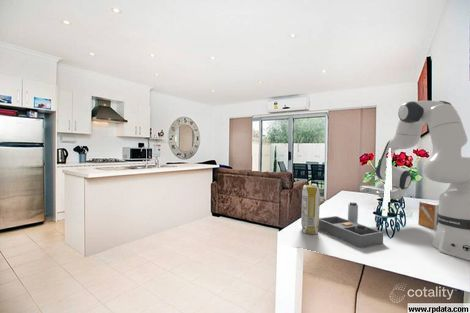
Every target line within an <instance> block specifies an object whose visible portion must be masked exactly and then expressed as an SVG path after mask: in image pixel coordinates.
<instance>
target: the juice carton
mask: <svg viewBox="0 0 470 313" xmlns="http://www.w3.org/2000/svg"><path fill="white" fill-rule="evenodd" d="M320 197H321V193H320V188H319V187H318V184H316V183H311V185H309V184H304V185H303V186H302V191H301V216H300V217H301V218H300V220H301V221H300V222H301V228H302V232H303V234H308V235H318V234H319V230H320V229H319V218H320V204H321V202H320V201H321V198H320Z"/></svg>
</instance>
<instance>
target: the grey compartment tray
mask: <svg viewBox="0 0 470 313" xmlns="http://www.w3.org/2000/svg"><path fill="white" fill-rule="evenodd" d="M357 225H363V224H361V223H359V222H357V223H355V222H352V221H349V220H348V219H346V218H343V217H340V216H337V215H335V216H327V217H319V229H318V230H320V231H322V232H325V233H326V234H328V235H331V236H333V237H335V238H337V239H340V240H342V241H343V242H346V243H348V244H351V245H353V246H355V247H358V248H360V249H362V248H367V247H372V246H376V245H377V244H378V245H382V244H384V231H382V230H378V229H375V228H373V227H369V226H366V225H363V226H365V227H366V228H367V234H364V235H359V234H357V233H355V227H356V226H357Z"/></svg>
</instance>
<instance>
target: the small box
mask: <svg viewBox="0 0 470 313" xmlns="http://www.w3.org/2000/svg"><path fill="white" fill-rule="evenodd" d="M418 205H419V206H418V225H421V226H424V227H426V228H430V229H433V230H437V213H439V203H436V202H430V201H427V200H426V201H425V200H424V201H419V204H418Z"/></svg>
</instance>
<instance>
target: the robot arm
mask: <svg viewBox="0 0 470 313" xmlns="http://www.w3.org/2000/svg"><path fill="white" fill-rule="evenodd" d="M397 115H398V118H399V121H398V123H397V124H398V125H397V127H396V132H395V133H394V134H395V135H394V136H393V138H391V139H389V140H388V141H387V143H386V145H385V148H384V150H383V152H382V155H381V158H380V160H379V162H378V164H377V166H376V168H375V175H376V177H377V178H378V179H380V180H383V181H386V180H385V171H386V154H387V153H388V150H389V148H391V151H392V158H393V156H394V154H395V152H396V151H399V150H407V149H412V148H413V147H415V146H417V145H418V144H419V142H420V140H421V137H422V136H421V135H422V131H423V128H424V127H423V126H424V125H425V124H427V127H428V128H427V129H428V132H429V135H430V139H431V143H432V153H431V157H430V158H429V159H428V160H427V161H426V162H425V164H424V166H423V172H424V175H425V177H426V179H428V180H431V181H433V182H437V183H442V184H449V186H448V188H447V189H446V190H445V191H444V192H442V193H441V194H440V195H439V196H438V204H439V213H437V229H436V231H435V236H434V238H433V241H432V243H431V245H432V246H433V247H434V248H435V249H437V250H438V251H439V253H443V254H446V255H449V256H452V257H455V258H456V257H457V258H460V259H463V260H466V261H469V262H470V156H469V157H468V156H467V157H466V156H465V157H463V156H462V148H463V147H464V146H465V145H466V144H467V143H468V136H467V133H466V130H465V127H464V124H463V121H462V119H461V117H460V115H459V113H458V112H457V109H456V108H455V106H453V105H452V103H451V102H448V101H445V100H418V101H417V100H415V101H413V100H412V101H408V102H405V103H403V104H402V105H401V106H400V107H399V109H398V113H397ZM412 180H413V179H412V174H411V172H410V171H409V170H407V169H404V168H402V167H397V166H394V165H392V190H391V193H390V199H392V200H401V198H402V197H404V196H406V195H407V194H408V193H409V190H410V189H409V187H410V185H411V184H412ZM359 192H360V193H366V194H370V195H375V196H378V197H379V198H380V199H383V193H384V182H383V183H378V184H377V186H373V185H360V186H359Z"/></svg>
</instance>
